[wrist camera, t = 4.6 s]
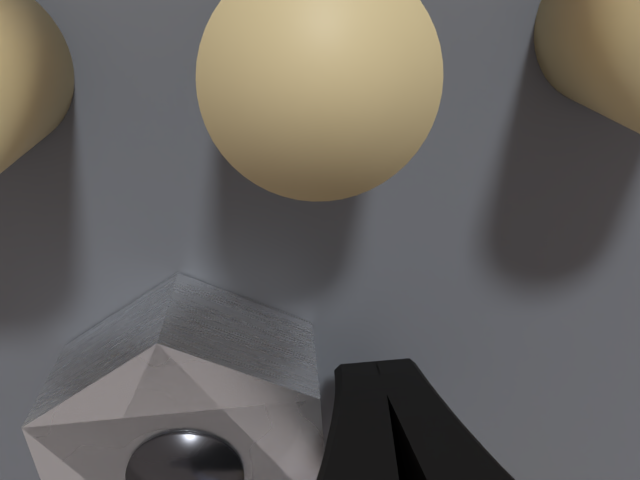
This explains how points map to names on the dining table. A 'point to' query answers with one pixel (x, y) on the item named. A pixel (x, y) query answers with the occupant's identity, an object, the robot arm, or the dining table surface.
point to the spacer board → (356, 265)
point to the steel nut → (182, 393)
